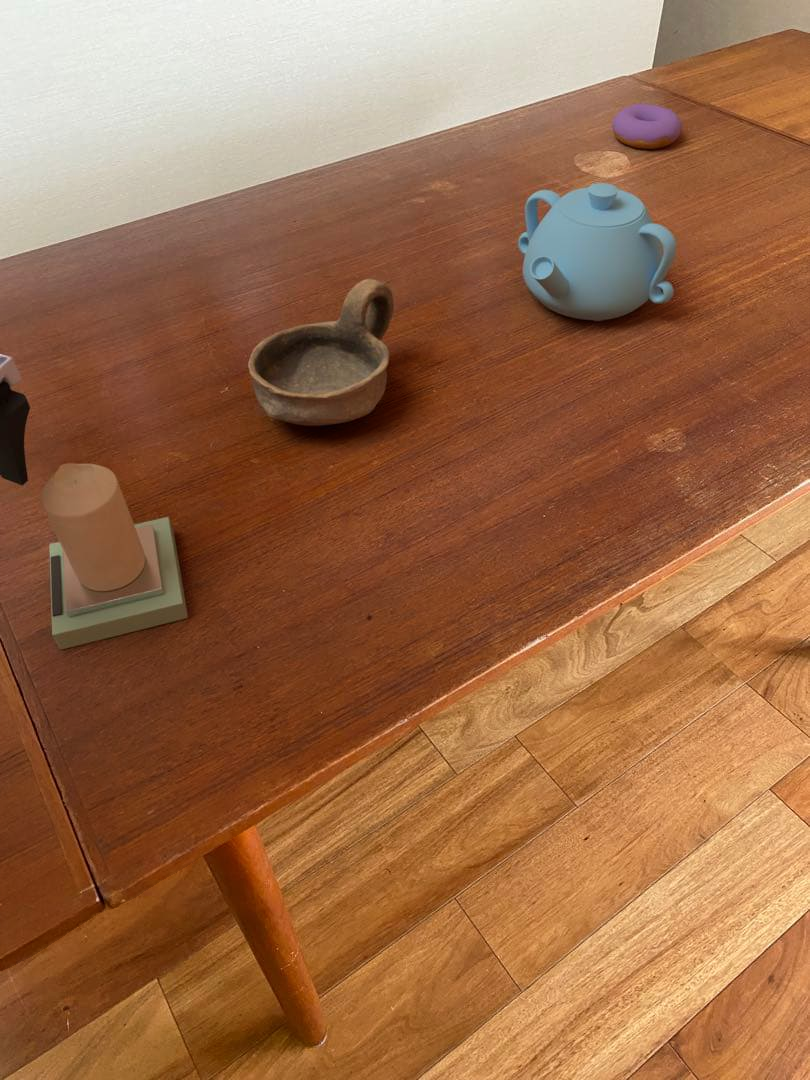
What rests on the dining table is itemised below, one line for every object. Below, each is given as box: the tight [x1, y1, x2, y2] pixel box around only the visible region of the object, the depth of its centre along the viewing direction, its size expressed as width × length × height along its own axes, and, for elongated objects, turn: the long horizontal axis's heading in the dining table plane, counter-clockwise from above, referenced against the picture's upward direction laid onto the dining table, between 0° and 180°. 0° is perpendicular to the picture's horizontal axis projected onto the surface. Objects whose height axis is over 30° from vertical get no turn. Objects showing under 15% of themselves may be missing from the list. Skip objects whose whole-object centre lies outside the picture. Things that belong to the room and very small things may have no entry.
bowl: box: [247, 278, 395, 427], centre depth 84 cm, size 14×18×10 cm
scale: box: [48, 516, 189, 651], centre depth 71 cm, size 10×10×2 cm
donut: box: [611, 103, 682, 150], centre depth 126 cm, size 10×9×5 cm
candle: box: [40, 462, 145, 591], centre depth 66 cm, size 6×6×10 cm
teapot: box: [517, 182, 677, 322], centre depth 94 cm, size 20×20×13 cm
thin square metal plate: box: [63, 525, 164, 617], centre depth 70 cm, size 7×7×1 cm
